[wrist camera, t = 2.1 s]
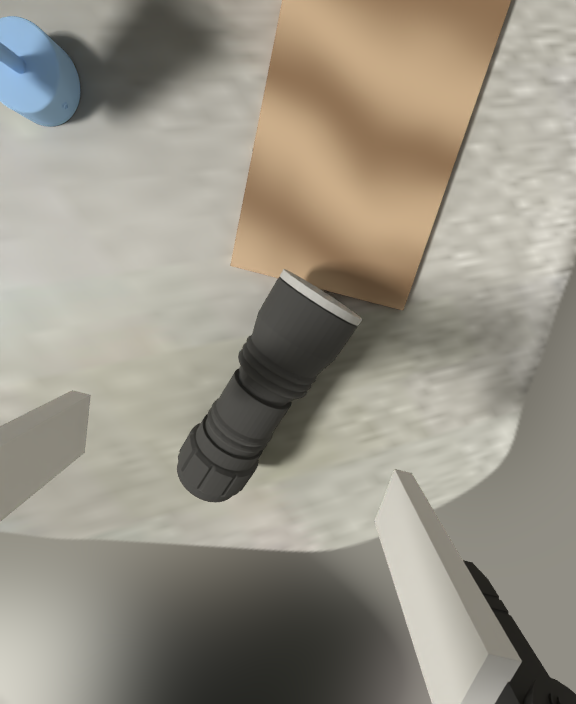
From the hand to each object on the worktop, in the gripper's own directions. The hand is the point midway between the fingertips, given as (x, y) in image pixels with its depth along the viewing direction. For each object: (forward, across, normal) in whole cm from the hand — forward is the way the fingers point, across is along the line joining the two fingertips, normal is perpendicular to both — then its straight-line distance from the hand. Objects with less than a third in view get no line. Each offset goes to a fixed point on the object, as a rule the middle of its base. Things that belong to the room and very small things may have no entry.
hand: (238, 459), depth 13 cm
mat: (+10, +2, +18) cm, 20 cm away
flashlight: (+10, 0, +1) cm, 10 cm away
